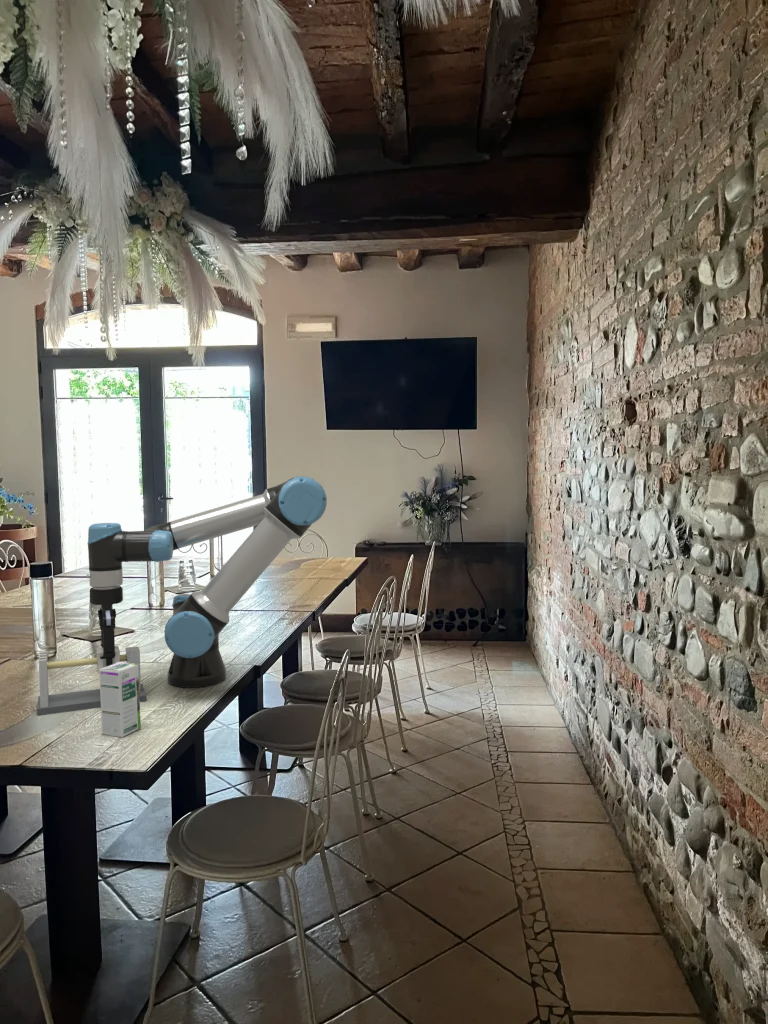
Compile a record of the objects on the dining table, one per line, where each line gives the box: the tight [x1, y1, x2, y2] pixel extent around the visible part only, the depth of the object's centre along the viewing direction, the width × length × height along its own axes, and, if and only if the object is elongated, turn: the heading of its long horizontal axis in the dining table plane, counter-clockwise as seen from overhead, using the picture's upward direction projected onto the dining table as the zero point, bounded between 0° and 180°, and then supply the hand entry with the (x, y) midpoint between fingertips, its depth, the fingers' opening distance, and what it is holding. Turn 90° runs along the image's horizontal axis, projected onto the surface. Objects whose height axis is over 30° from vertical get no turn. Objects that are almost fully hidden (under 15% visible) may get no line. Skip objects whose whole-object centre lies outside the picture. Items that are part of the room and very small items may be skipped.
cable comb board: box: [36, 646, 147, 716], centre depth 172 cm, size 24×10×12 cm, turn 114°
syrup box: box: [98, 661, 142, 738], centre depth 152 cm, size 6×6×14 cm
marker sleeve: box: [96, 645, 121, 674], centre depth 173 cm, size 5×5×5 cm
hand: (108, 680), depth 174 cm, fingers closed on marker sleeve, 5 cm apart
